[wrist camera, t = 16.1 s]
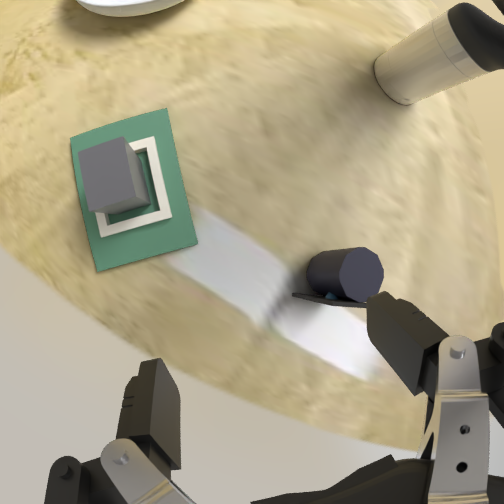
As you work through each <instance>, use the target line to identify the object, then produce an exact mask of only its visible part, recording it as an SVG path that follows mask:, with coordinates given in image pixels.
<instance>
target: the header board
mask: <svg viewBox="0 0 504 504" xmlns="http://www.w3.org/2000/svg"><path fill="white" fill-rule="evenodd" d="M122 136H124V138H125V139H126V140H127V142H128V143H129V145H130V146H131V147H132V149H133V150H134V151H135V153H136V154H137V156H138V157H139V158H140V160H141V161H142V166H143V170H144V175H145V179H146V184H147V188H148V192H149V196H150V200H151V204H150V205H147V206H143V207H140V208H137V209H134V210H130V211H127V212H124V213H121V214H118V215H117V214H107V213H96V212H89V209H88V204H87V200H86V195H85V190H84V185H83V180H82V175H81V169H80V164H79V158H78V152H79V151H82V150H84V149H87V148H90V147H92V146H95V145H98V144H101V143H104V142H107V141H110V140H112V139H115V138H119V137H122ZM70 140H71V149H72V156H73V163H74V170H75V176H76V182H77V188H78V193H79V198H80V203H81V208H82V213H83V217H84V222H85V226H86V230H87V235H88V239H89V243H90V247H91V250H92V254H93V258H94V261H95V265H96V268H97V272H99V271H102V270H106V269H109V268H113V267H116V266H120V265H123V264H127V263H130V262H134V261H138V260H141V259H145V258H148V257H152V256H155V255H159V254H163V253H166V252H170V251H174V250H177V249H181V248H185V247H188V246H192V245H196V244H198V241H197V238H196V234H195V230H194V226H193V222H192V218H191V214H190V210H189V206H188V201H187V197H186V193H185V189H184V185H183V180H182V176H181V172H180V167H179V163H178V158H177V154H176V149H175V144H174V140H173V135H172V130H171V125H170V120H169V115H168V110H167V108H165V109H161V110H157V111H153V112H149V113H145V114H142V115H138V116H135V117H131V118H128V119H124V120H121V121H118V122H115V123H111V124H108V125H105V126H102V127H99V128H96V129H93V130H91V131H88V132H85V133H82V134H79V135H77V136H74V137H72V138H70Z"/></svg>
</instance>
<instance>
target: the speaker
mask: <svg viewBox="0 0 504 504" xmlns="http://www.w3.org/2000/svg"><path fill="white" fill-rule="evenodd" d="M383 278H384V269H383V267H382V265H381V262H380V260H379V258H378V255H377V254H375V253H374V252H372V251H370V250H369V249H367V248H365V247H357V248H349V249H340V250H331V251H323V252H321V253H320V254H318V255H316V256H315V257H313V258H312V260H311V262H310V265H309V267H308V269H307V279H308V281H309V283H310V285H311V287H312V289H313V291H315V292H317V293H319V294H321V295H323V296H318V295H307V294H297V293H293V294H292V296H293V297H297V298H302V299H306V300H310V301H314V302H318V303H323V304H327V305H331V306H343V307H357V308H367V306H366V303H364V302H366V301H367V298H368V297H370V296H373V295H375V294H377V293H378V292H379V289H380V287H381V284H382V281H383Z"/></svg>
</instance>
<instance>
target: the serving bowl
mask: <svg viewBox="0 0 504 504" xmlns="http://www.w3.org/2000/svg"><path fill="white" fill-rule="evenodd" d="M76 1H77V2H78V3H79V4H80V5H82V6H83V7H84V8H86V9H88V10H90V11H92V12H94V13H97V14H101V15H106V16H115V17H127V16H138V15H144V14H149V13H153V12H157V11H160V10H163V9H166V8H169V7H171V6H174V5H176V4H178V3H180V2H182V1H184V0H76Z"/></svg>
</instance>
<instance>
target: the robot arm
mask: <svg viewBox="0 0 504 504" xmlns="http://www.w3.org/2000/svg"><path fill="white" fill-rule="evenodd" d="M492 1H493V2H494V3H495V5H496V6H497V7H498V9H499V10H500V11H501V13H502V14H503V15H504V0H492ZM498 69H504V25H503V24H501V23H499V22H497V21H495V20H494V19H492V18H491V17H489V16H488V15H487V14H485V13H484V12H483V11H481V10H480V9H478V8H477V7H475V6H474V5H471V4H469V3H459V4H457V5H455V6H454V7H452V8H451V9H449V10H448V11H446V12H444V13H443V14H441V15H440V16H438V17H437V18H435V19H434V20H432V21H430V22H429V23H427V24H426V25H424V26H423V27H421V28H420V29H418V30H417V31H415V32H414V33H412V34H411V35H409V36H408V37H406V38H405V39H404V40H402V41H401V42H399V43H398V44H396V45H395V46H393V47H392V48H390V49H389V50H388V51H386V52H385V53H383V54H382V55H381V56H379V57H378V58H377V59H376V61H375V64H374V71H375V75H376V79H377V81H378V83H379V85H380V86H381V88H382V89H383V90H384V92H385V93H386V94H387V95H388V96H389V97H390V98H391V99H393V100H394V101H396V102H398V103H400V104H403V105H410V104H413V103H415V102H417V101H419V100H422V99H424V98H427V97H429V96H431V95H434V94H436V93H439V92H441V91H443V90H446V89H448V88H451V87H453V86H456V85H458V84H461V83H463V82H466V81H469V80H471V79H474V78H476V77H479V76H481V75H484V74H487V73H489V72H492V71H495V70H498ZM366 306H367V332H368V336H369V338H370V341H371V342H372V344H373V345H374V346H375V347H376V349H377V350H378V351H379V352H380V354H381V355H382V356H383V357H384V359H385V360H386V361H387V362H388V363H389V365H390V366H391V367H392V368H393V370H394V371H395V372H396V373H397V375H398V376H399V377H400V379H401V380H402V381H403V382H404V384H405V385H406V386H407V387H408V389H409V390H410V391H411V393H412V394H413V395H414V396H416V395H418V394H419V393H421V392H423V391H425V393H426V394H427V398H426V406H425V415H424V423H423V430H422V437H421V442H420V446H419V449H418V452H417V456H416V459H414V458H413V459H402V460H397V461H395V460H394V458H393V457H392V455H391V454H390V455H388V456H386V457H384V458H382V459H380V460H378V461H375V462H373V463H371V464H369V465H366V466H364V467H362V468H359V469H358V470H356V471H355V472H353V473H352V474H351V475H349V476H348V477H346V478H345V479H343V480H341V481H340V482H339V483H337V484H335V485H334V486H332V487H330V488H328V489H326V490H322V491H313V492H303V493H289V494H283V495H279V496H275V497H271V498H267V499H262V500H257V501H253V502H251V504H504V477H499V476H493V475H488V467H489V444H490V424H489V410H490V412H491V413H492V414H493V415H494V417H495V418H496V419H497V421H498V422H499V423H500V424H501V426H502V427H503V428H504V322H502V323H499V324H497V325H495V326H494V328H493V329H492V333H491V336H490V337H489V338H486V339H482V340H479V341H475V342H473V341H472V340H470V339H469V338H467V337H464V336H460V335H454V336H449V335H448V334H447V333H446V332H445V331H443V330H442V329H441V328H440V327H439V326H438V325H437V324H435V323H434V322H433V321H432V320H431V319H430V318H429V317H426V315H425V314H424V313H423V312H422V311H420V310H419V309H418V308H417V307H416V306H414V305H413V304H412V303H411V302H408V301H405V300H403V299H397V300H396V299H395V298H394V297H392V296H391V295H390V294H389V293H388V292H386V291H383V292H381V293H378V294H375V295H373V296H370V297H368V298H367V301H366ZM123 398H124V400H123V402H122V409H121V413H120V418H119V423H118V429H117V435H116V440H114V441H112V442H110V443H109V444H107V446H106V447H105V448H104V449H103V451H102V453H101V457H99V458H96V459H93V460H90V461H87V462H84V463H80V462H79V461H78V460H77V459H76V458H74V457H71V456H64V457H61V458H59V459H58V460H56V461H55V462H54V463H53V465H52V467H51V469H50V473H49V478H48V484H47V490H46V495H45V502H44V504H196V503H195V502H194V501H193V500H192V499H191V498H190V497H189V496H188V495H187V494H185V493H184V492H183V491H182V490H181V489H180V488H179V487H178V486H177V485H176V484H175V483H174V482H173V481H172V480H171V470H179V469H181V449H180V448H181V447H180V394H179V391H178V388H177V385H176V384H175V382H174V380H173V378H172V377H171V375H170V373H169V371H168V369H167V367H166V366H165V364H164V362H163V360H162V359H161V358H157V359H152V360H147V361H143V362H141V364H140V368H139V373H138V376H134V377H132V378H131V380H130V381H129V383H128V384H127V386H126V388H125V393H124V397H123Z"/></svg>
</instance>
